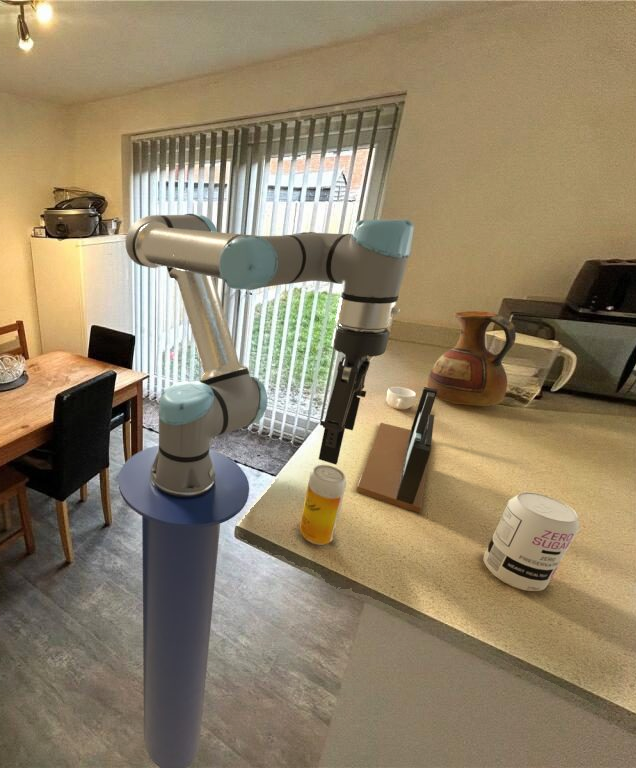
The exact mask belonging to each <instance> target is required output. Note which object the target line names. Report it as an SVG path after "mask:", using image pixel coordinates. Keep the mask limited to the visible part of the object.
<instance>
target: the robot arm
mask: <svg viewBox="0 0 636 768" xmlns="http://www.w3.org/2000/svg"><path fill="white" fill-rule="evenodd" d="M414 231H415V225H414V223H413V221H411V220H409V219H403V218H401V219H399V218H398V219H362V220H358V221H357V222H355V223H354V226H353V229H352V232H351V233H329V232H316V231H309V232H306V231H305V232H296V233H293V234H285V235H284V234H283V235H257V234H256V235H255V234H243V233H242V234H241V233H232V232H231V233H230V232H219V231H218V230H217V228H216V226H215V224H214V222H213V221H212V220H211V219H210V218H208V217H207V216H205V215H203V214H194V213H186V214H159V215H158V214H153V215H152V214H151V215H146V216H144V217H141V218H139V219H137V220H136V221H135V222H134V223H133V224H132V225H131V226H130V227H129V229H128V230H127V233H126V235H125V241H124V242H125V249H126V254H127V256H129V258H130V260H131V261H133V262H134V263H135V264H137V265H138V266H141V267H146V268H150V269H157V268H160V267H165V268H166V270H167V273H168V276H169V278H170V279H171V280H174V281H176V282H177V286H178V288H179V289H178V290H179V292H180V296H181V299H182V302H183V305H184V309H185V312H186V316H187V319H188V323H189V327H190V330H191V333H192V336H193V340H194V343H195V347H196V350H197V354H198V357H199V360H200V363H201V367H202V371H203V374H202V376H201V378H200V379H199V381H193V380H192V381H190V382H188V381H181V382H177V383H174V384H171V385H170V386H168V387H167V388H166V389H164V390H163V392H162V393H161V395H160V398H159V406H158V410H157V414H158V446H159V450H158V453H157V455H156V458H155V460H154V463H153V465H152V468H151V481H152V484H153V485H154V487H155V488H156V489H157V490H158V491H160V492H161V493H163V494H165V495H167V496H170V497H173V498H178V499H193V498H198V497H201V496H204V495H206V494H207V493H209V492H210V491H211V490H212V489H213V487H214V484H215V471H214V466H213V464H212V461H211V458H210V454H209V449H210V446H211V445H210V443H211V439H212V438H215V437H218V436H221V435H224V434H228V433H230V432H233V431H236V430H240V429H244V428H248V427H250V426H251V425H253V424H255V423H258V422H259V421H260V420H262V418H263V417H264V415H265V414H266V413H265V412H266V411H267V409H268V392H267V389H266V387H265V385H264V384H263V382H262V381H260V379H259V378H258V377H256V376H254V375H250V371H249V368H248V366H246V365H244V364H242V363H241V362H240V361H239V358H238V357H239V356H238V354H237V352H236V348H235V345H234V341H233V338H232V334H231V331H230V327H229V325H228V321H227V318H226V315H225V312H224V308H223V304H222V302H221V298H220V295H219V291H218V288H217V285H216V282H215V281H216V280H215V279H220V280H222V281H223V282H224V283H225V284H226V285H227V287H228V288H230V289H233V290H239V291H240V290H241V291H242V290H247V291H255V290H257V289H261V288H268V287H275V286H276V287H277V286H283V285H291V284H297V283H298V284H299V283H307V282H323V283H332V284H339V285H342V286H341V287H342V288H341V294H340V298H339V303H338V307H337V312H336V316H335V317H336V318H335V321H336V323H337V325H335V327H334V331H333V336H332V341H331V347H332V349H334V351H336V352H338V353H342V354H343V355H345V356H343V357H342V359H341V360H340V361H339V363H338V365H337V370H336V378H335V381H334V384H333V389H332V392H331V396H330V399H329V404H328V405H327V406H328V407H327V410H326V415H325V418H324V420H320V422H319V426H322V427H323V429H324V430H323V434H322V439H321V444H320V450H319V455H318V460H320V461H323V462H326V463H329V464H333V465H338V462H339V457H340V453H341V448H342V443H343V439H344V434H345V430H348V431H353V430H354V428H355V425H356V419H357V415H358V410H359V406H360V402H361V397H362V398H365V397H366V395H367V390H363V389H364V388H365V382H366V376H367V373H368V370H369V367H370V364H371V361H370V360H369V358H370V357H371V358H372V357H378V356H381V355H384V353H385V352H386V350H387V345H388V342H389V339H390V333H391V332H390V331H389V328H390V327H391V326H392V324H393V320H394V315H399V314H401V309H400V307H395V306H396V305H397V304H398V303H397V302H398V300H399V294H400V290H401V286H402V283H403V280H404V275H405V272H406V268H407V264H408V260H409V258H410V256H411V253H412V251H411V248H412V244H413V238H414V237H413V236H414Z"/></svg>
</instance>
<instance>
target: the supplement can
mask: <svg viewBox="0 0 636 768" xmlns="http://www.w3.org/2000/svg"><path fill="white" fill-rule="evenodd" d="M578 519H579V515H578V513H577V512H576V511H575V510H574V508H572V507H570V505H568V504H567V503H565V502H563V501H561V500H559V499H557V498H554V497H551V496H549V495H547V494H543V493H538V492H532V491H531V492H530V491H524V492H520V493H518V494H517V495H515V496H514V497H512V498H510V499H509V500H508V501H507V504H506V507H505V509H504V511H503V513H502V514H501V517H500V520H499V522H498V524H497V526H496V528H495V531H494V533H493V536H492V537H491V539H490V541H489V543H488V546H487V547H486V550H485V552H484V554H483V562H484V564H485V566H486V568H487V569H488V571H489V572H491V574H492V575H493V576H494V577H496V578H497V579H498V580H500V581H501V582H503V583H505V584H506V585H509V586H510V587H512V588H515V589H518V590H522V591H529V592H538V591H544V589H545V588H547V586H548V585H549V583H550V581H551V579H553V578H552V577H553V576H554V575H555V572H556V571H557V569H558V567H559V566H560V564H561V562H562V560H563V558H564V556H565V555H566V553H567V552H568V550H569V548H570V546H571V544H572V542H573V541H574V539H575V538H576V536H577V534H578V532H579V531H580V523H579V520H578Z"/></svg>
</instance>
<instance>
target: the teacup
mask: <svg viewBox="0 0 636 768" xmlns="http://www.w3.org/2000/svg"><path fill="white" fill-rule="evenodd" d="M416 397H417V393H416V392H415V391H414V390H412V389H410V388H406V387H402V386H391V387H389V388H388V389H387V393H386V403H387V404H388V406H389V407H391V408H393V409H396V410H407V409H410V408H411V407H412V406H413V404H414V403H415V400H416Z"/></svg>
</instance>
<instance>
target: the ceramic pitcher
mask: <svg viewBox="0 0 636 768" xmlns="http://www.w3.org/2000/svg"><path fill="white" fill-rule="evenodd" d="M453 315H454V317H455V318H456V319H457V321H459V324H460V333H459V338H458V341H457V343H456V345H454V347H452V348H451V349H449V350H447V351H445V352H444V353H443V354H441V356H439V358H438V359H437V360H436V362H435V363H434V364H433V366H432V368H431V369H430V373H429V375H428V377H427V387H428V388H433V389H438V390H437V395H436V398H437V399H439V400H441V401H442V400H443V401H446V402H450V403H452V404H458V405H459V404H460V405H465V406H484V407H487V406H494V405H498V404H500V403H501V402H502V401H503V400H504V398H505V396H506V394H507V388H508V377H507V373H506V371H505V368H504V365H503V363H502V360H503V359H504V357H505V356H506V355H507V353H508V352H509V351H510V350H511V348H512V347H513V345H514V344H515V341H516V333H517V332H516V328H515V325H514V323H513V322H511V321H510V320H509V319H508V318H507V317H505V316H501V315H500V314H499V313H496V312H493V311H491V312H489V311H478V310H476V311H473V310H472V311H468V310H467V311H458V312H454V313H453ZM491 323H492V324H493V323H494V324H495V325H497V326H499V327H500V328H501V329H502V330H503V331H504V332H503V333H504V335H505V343H504V346H503V347H502V349H501V350H500V352H498V353H496V354H494V353H493V352H491V351H490V350H489V349H487V347H486V343H485V337H486V331H487V328H488V327H489V325H490V324H491Z"/></svg>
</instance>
